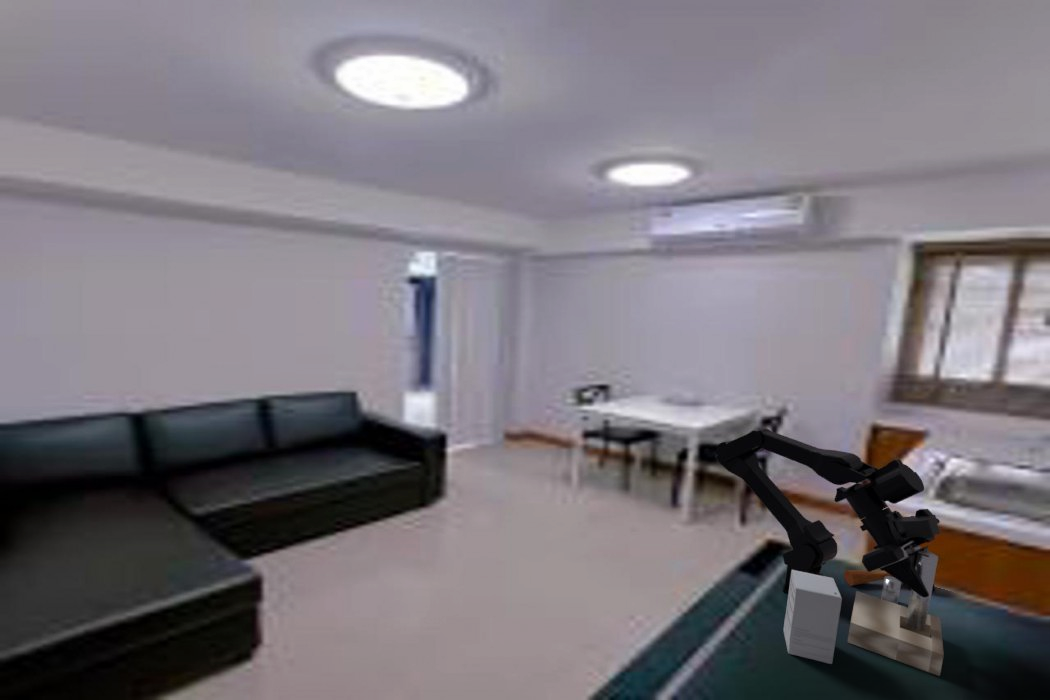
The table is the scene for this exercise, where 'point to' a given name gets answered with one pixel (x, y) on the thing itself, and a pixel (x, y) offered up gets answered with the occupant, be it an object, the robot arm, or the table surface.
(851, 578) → the kendama
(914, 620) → the long pin
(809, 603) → the supplement box
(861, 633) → the hole block
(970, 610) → the table surface
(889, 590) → the short pin
